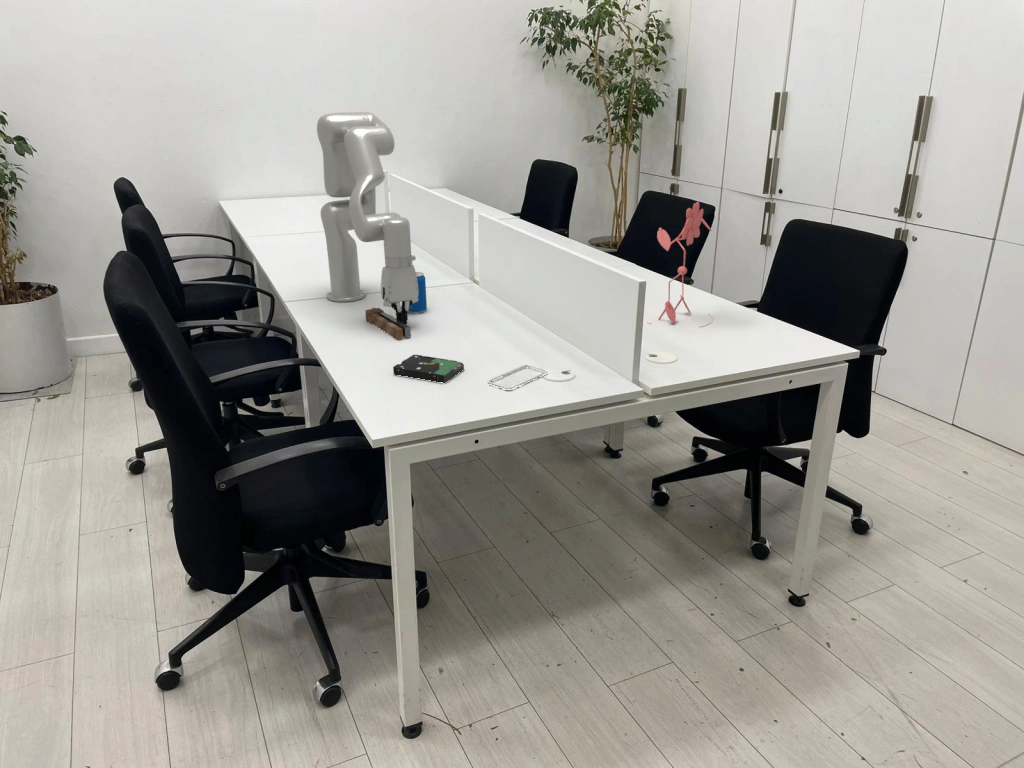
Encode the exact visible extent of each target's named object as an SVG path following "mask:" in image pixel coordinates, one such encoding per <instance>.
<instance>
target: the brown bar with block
mask: <svg viewBox="0 0 1024 768" xmlns="http://www.w3.org/2000/svg"><path fill="white" fill-rule="evenodd" d="M364 312H365V322H366V321H367V323H368V322H369V323H368V324H370V325H373V326H374V325H375V327H376V326H377V329H379V328H380V329H379V330H381V331H382V330H383V332H384V331H385V332H384V333H385V334H387V333H388V334H387V335H389V336H390V337H392V338H394V339H395V340H397V341H401V340H404V337H403V329H402V328H400V327H398V326H397V325H395V324H393V323H391V322H390V321H388V320H386V319H385V318H383V317H381V316H380V315H379V313H380V312H385V311H384V310H383V309H381V308H380V307H372V308H370V309H365V311H364Z"/></svg>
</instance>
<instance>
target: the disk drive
mask: <svg viewBox="0 0 1024 768" xmlns="http://www.w3.org/2000/svg"><path fill="white" fill-rule="evenodd" d="M392 369H393V371H392V372H393V375H394V374H395V375H394V376H397V375H401V376H400V377H402V376H408V377H413V378H412V379H414V378H420V379H425V380H424V381H426V380H431V381H430V382H432V381H436V382H435V383H437V382H443V383H445V382H447V381H448V380H450V379H451V378H452V377H454V376H455V375H457V374H458V373H459V372H461V371H462V370H465V364H464V363H463V362H461V361H458V360H454V359H452V360H450V359H445V358H438V357H433V356H428V355H421V354H412V355H410V356H409V357H407V358H406V359H403V360H402V361H401V363H398V364H396V365H394V366H393V367H392ZM462 372H463V371H462ZM462 372H461V373H462ZM459 374H460V373H459ZM459 374H458V375H459ZM458 375H457V376H458ZM408 377H407V378H408ZM455 377H456V376H455ZM455 377H454V378H455ZM420 379H419V380H420ZM452 379H453V378H452ZM452 379H451V380H452ZM451 380H450V381H451ZM448 382H449V381H448ZM448 382H447V383H448ZM443 383H442V384H443ZM445 384H446V383H445Z"/></svg>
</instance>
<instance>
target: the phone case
mask: <svg viewBox="0 0 1024 768" xmlns="http://www.w3.org/2000/svg"><path fill="white" fill-rule="evenodd" d="M526 367H528V368H526ZM523 368H524V369H530V368H533V369H536V370H539V371H542V372H541V373H539V374H536V375H534V376H533V377H529V378H528V379H526V380H524V381H521V382H518V383H517V384H514V385H512V386H509V387H507V386H505V385H501V384H499V383H496V382H495V383H494V382H493V381H495V380H497V379H499V378H505V377H504V376H506V375H508V374H510V375H512V374H511V373H513V372H515V371H517V372H519V371H521V370H520V369H522V370H524V369H523ZM518 370H519V371H518ZM515 373H516V372H515ZM545 373H547V374H548V370H546V369H544V368H541V367H537V366H533V365H529V364H523V365H521V366H519V367H516V368H514V369H512V370H510V371H506V372H504V373H502V374H500V375H497V376H494V377H493V378H490V379H488V380H487V381H486V384H487V383H488V384H492V385H495V386H498V387H502V388H505V389H512V388H514V387H516V386H519V385H522V384H524V383H526V382H528V381H531V380H533V379H536V378H538V377H540V376H542V375H543V374H545ZM513 374H514V373H513ZM502 376H503V377H502ZM508 376H509V375H508ZM506 377H507V376H506ZM536 380H537V379H536ZM491 381H492V382H491Z"/></svg>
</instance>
